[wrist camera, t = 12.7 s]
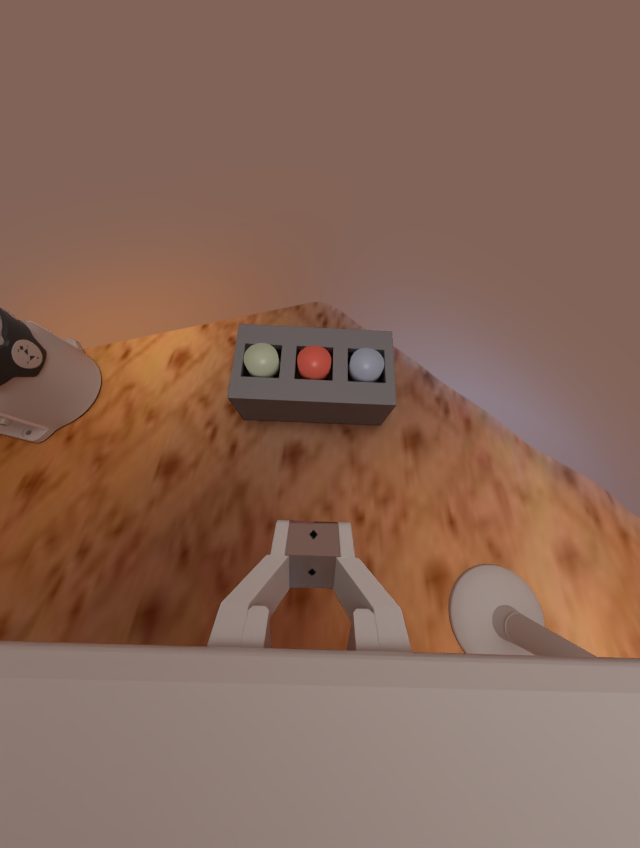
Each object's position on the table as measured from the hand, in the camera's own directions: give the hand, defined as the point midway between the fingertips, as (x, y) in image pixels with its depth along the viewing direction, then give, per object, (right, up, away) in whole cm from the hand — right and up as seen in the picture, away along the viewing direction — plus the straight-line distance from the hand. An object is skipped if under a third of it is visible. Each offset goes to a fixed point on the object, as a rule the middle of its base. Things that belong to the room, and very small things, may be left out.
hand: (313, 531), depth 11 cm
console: (-1, +10, +36) cm, 38 cm away
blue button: (+7, +12, +30) cm, 33 cm away
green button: (-8, +13, +30) cm, 34 cm away
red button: (-1, +12, +30) cm, 33 cm away
